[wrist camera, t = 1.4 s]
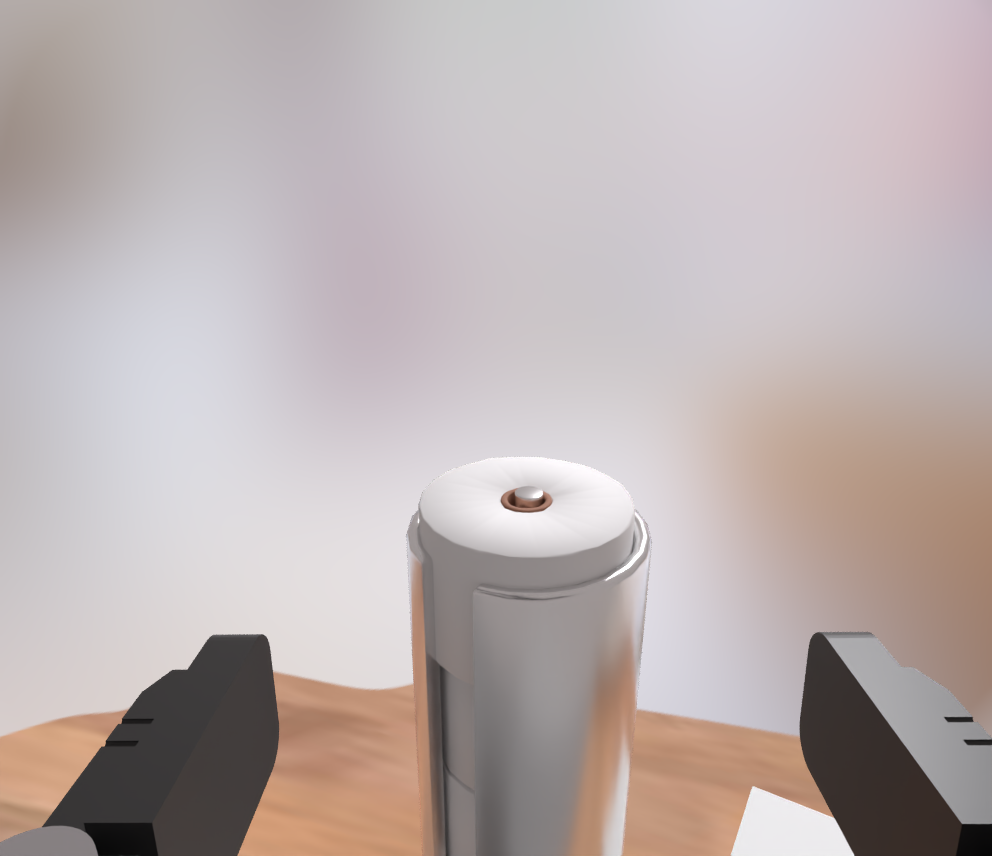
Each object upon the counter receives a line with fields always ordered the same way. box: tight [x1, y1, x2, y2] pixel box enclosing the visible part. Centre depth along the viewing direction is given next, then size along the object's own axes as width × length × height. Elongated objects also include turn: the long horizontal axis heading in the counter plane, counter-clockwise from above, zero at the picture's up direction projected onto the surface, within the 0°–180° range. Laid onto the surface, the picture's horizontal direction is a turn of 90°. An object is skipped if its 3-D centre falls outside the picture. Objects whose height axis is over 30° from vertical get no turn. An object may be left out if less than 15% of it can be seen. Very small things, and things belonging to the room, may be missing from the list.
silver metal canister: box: [406, 457, 652, 856], centre depth 24 cm, size 6×6×25 cm
